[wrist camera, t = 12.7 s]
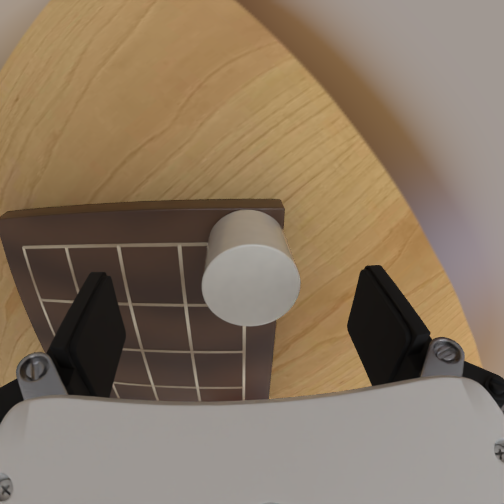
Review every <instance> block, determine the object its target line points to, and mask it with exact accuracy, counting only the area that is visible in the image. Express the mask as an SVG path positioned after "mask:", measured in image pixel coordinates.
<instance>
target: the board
mask: <svg viewBox="0 0 504 504" xmlns="http://www.w3.org/2000/svg"><path fill="white" fill-rule="evenodd" d="M240 210H256V211H260V212H263V213H265V214H267V215H269V216H271V217H272V218H274V219H275V220H276V221H277V222H278V223H279V224H280V226H281V227H282V229H283V228H284V213H285V209H284V206H283V204H282V202H281V200H280V199H213V200H169V201H142V202H121V203H103V204H87V205H73V206H60V207H48V208H37V209H26V210H16V211H8V212H6V213H5V214H3V215H2V216H1V217H0V237H1V240H2V244H3V247H4V251H5V254H6V257H7V260H8V264H9V267H10V270H11V273H12V275H13V278H14V281H15V284H16V287H17V289H18V292H19V295H20V297H21V300H22V302H23V305H24V307H25V310H26V312H27V315H28V317H29V319H30V321H31V324H32V326H33V328H34V330H35V333H36V335H37V337H38V339H39V341H40V343H41V345H42V347H43V349H44V351H45V353H47V351H48V349H49V347H50V345H51V342H52V340H53V338H54V337H55V335H56V333H57V331H58V329H59V327H60V325H61V323H62V321H63V319H64V317H65V315H66V314H67V312H68V310H69V308H70V307H71V305H72V303H73V301H74V300H75V298H76V296H77V294H78V292H79V291H80V289H81V287H82V286H83V284H84V282H85V280H86V279H87V277H88V275H89V274H90V273H91V272H105V273H106V274H107V276H111V278H112V282H113V286H114V290H115V294H116V298H117V302H118V305H119V309H120V313H121V316H122V320H123V323H124V327H125V330H126V339H125V343H124V346H123V350H122V353H121V357H120V360H119V364H118V367H117V371H116V375H115V379H114V382H113V386H112V390H111V394H110V398H117V399H132V400H150V401H178V402H216V401H246V400H263V399H269V390H270V381H271V371H272V361H273V351H274V340H275V329H276V320H275V321H273V322H270V323H267V324H264V325H259V326H239V325H235V324H231V323H229V322H226V321H224V320H222V319H221V318H219V317H218V316H216V315H215V314H214V313H213V312H212V311H211V310H210V309H209V307H208V306H207V304H206V302H205V300H204V298H203V295H202V276H203V269H204V261H205V254H206V247H207V241H208V237H209V234H210V232H211V230H212V228H213V227H214V225H215V224H216V223H217V222H218V221H219V220H220V219H221V218H223V217H224V216H226V215H228V214H230V213H232V212H235V211H240Z"/></svg>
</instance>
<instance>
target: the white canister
mask: <svg viewBox="0 0 504 504" xmlns="http://www.w3.org/2000/svg"><path fill="white" fill-rule="evenodd" d="M300 283H301V281H300V275H299V271H298V268H297V266H296V263H295V260H294V258H293V255H292V252H291V249H290V247H289V244H288V241H287V239H286V236H285V233H284V231H283V229H282V227H281V226H280V224H279V223H278V222H277V221H276V220H275V219H274V218H272V217H271V216H269V215H267V214H265V213H263V212H260V211H256V210H240V211H235V212H232V213H230V214H228V215H226V216H224V217H223V218H221V219H220V220H219V221H218V222H217V223H216V224H215V225H214V227H213V228H212V230H211V232H210V234H209V237H208V241H207V247H206V254H205V261H204V269H203V276H202V295H203V298H204V300H205V302H206V304H207V306H208V307H209V309H210V310H211V311H212V312H213V313H214V314H215V315H216V316H218V317H219V318H221V319H222V320H224V321H226V322H229V323H231V324H235V325H239V326H259V325H264V324H267V323H270V322H273V321H275V320H277V319H278V318H280V317H281V316H283V315H284V314H285V313H287V312H288V311H289V310H290V308H291V307H292V306H293V305H294V303H295V301H296V299H297V297H298V295H299V291H300Z"/></svg>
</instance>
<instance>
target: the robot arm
mask: <svg viewBox="0 0 504 504" xmlns="http://www.w3.org/2000/svg"><path fill="white" fill-rule="evenodd" d="M347 328H348V332H349V335H350V337H351V339H352V341H353V343H354V346H355V348H356V350H357V352H358V354H359V357H360V359H361V361H362V363H363V366H364V368H365V370H366V373H367V375H368V377H369V379H370V382H371V384H372V386H370V387H364V388H358V389H352V390H346V391H339V392H332V393H325V394H317V395H308V396H298V397H288V398H277V399H263V400H246V401H216V402H178V401H150V400H132V399H117V398H110V394H111V390H112V386H113V382H114V379H115V375H116V371H117V367H118V364H119V360H120V357H121V353H122V350H123V346H124V343H125V339H126V330H125V327H124V323H123V320H122V316H121V313H120V309H119V305H118V302H117V298H116V294H115V290H114V286H113V282H112V278H111V276H107V274H106V273H105V272H91V273H90V274H89V275H88V277H87V279H86V280H85V282H84V284H83V286H82V287H81V289H80V291H79V292H78V294H77V296H76V298H75V300H74V301H73V303H72V305H71V307H70V308H69V310H68V312H67V314H66V315H65V317H64V319H63V321H62V323H61V325H60V327H59V329H58V331H57V333H56V335H55V337H54V338H53V340H52V342H51V345H50V347H49V349H48V351H47V353H42V352H35V353H32V354H29V355H27V356H26V357H24V358H23V359H22V360H21V361H20V363H19V364H18V366H17V369H16V376H17V379H15V380H14V381H12V382H10V383H8V384H6V385H4V386H3V387H1V388H0V504H504V379H503V378H502V377H500V376H499V375H496V374H494V373H492V372H489V371H487V370H485V369H482V368H480V367H477V366H475V365H473V364H470V363H468V362H466V361H464V358H465V357H464V351H463V349H462V348H461V346H460V345H459V344H458V343H456V342H455V341H454V340H451V339H449V338H445V337H438V338H435V339H433V340H432V339H431V337H430V336H429V335H430V331H429V330H428V329H427V327H426V326H425V324H424V323H423V321H422V320H421V319H420V317H419V316H418V314H417V313H416V312H415V310H414V309H413V307H412V306H411V305H410V303H409V302H408V301H407V299H406V298H405V296H404V295H403V294H402V292H401V291H400V290H399V288H398V287H397V286H396V284H395V283H394V282H393V280H392V279H391V278H390V277H389V275H388V274H387V273H386V271H385V270H384V269H383V268H382V266H380V265H372V266H366V267H365V268H364V270H361V272H360V275H359V280H358V284H357V288H356V292H355V296H354V300H353V304H352V308H351V312H350V316H349V320H348V324H347Z"/></svg>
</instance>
